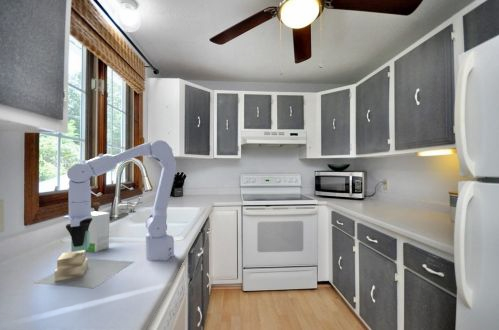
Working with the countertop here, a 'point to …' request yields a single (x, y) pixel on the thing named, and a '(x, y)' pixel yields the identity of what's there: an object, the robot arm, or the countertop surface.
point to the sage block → (85, 244)
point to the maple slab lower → (71, 272)
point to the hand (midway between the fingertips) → (80, 243)
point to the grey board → (90, 274)
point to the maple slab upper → (71, 259)
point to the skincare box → (99, 231)
